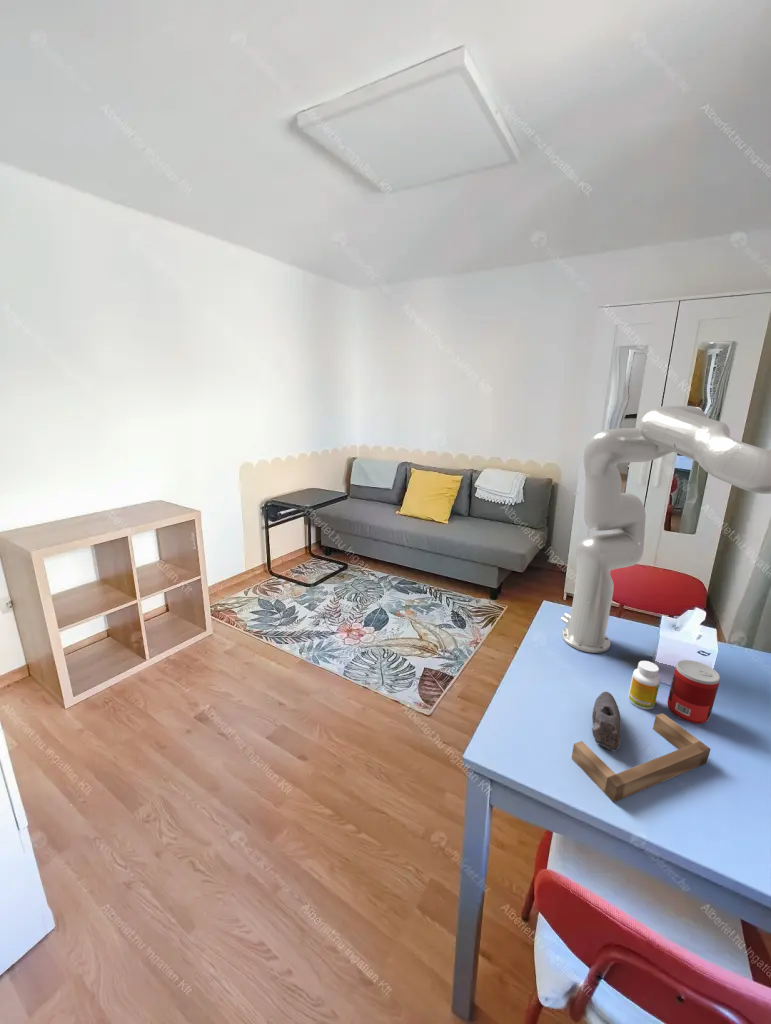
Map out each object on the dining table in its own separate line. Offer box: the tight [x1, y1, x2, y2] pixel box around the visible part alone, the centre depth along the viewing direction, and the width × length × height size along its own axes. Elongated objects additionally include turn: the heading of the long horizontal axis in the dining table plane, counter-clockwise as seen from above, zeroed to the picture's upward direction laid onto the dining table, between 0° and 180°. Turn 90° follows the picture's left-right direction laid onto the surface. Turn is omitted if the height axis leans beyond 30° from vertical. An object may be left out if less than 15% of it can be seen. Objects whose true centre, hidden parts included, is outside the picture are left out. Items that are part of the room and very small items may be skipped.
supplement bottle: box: [627, 660, 661, 710], centre depth 100 cm, size 5×5×10 cm
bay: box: [571, 712, 711, 803], centre depth 85 cm, size 10×24×4 cm, turn 111°
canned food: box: [667, 659, 721, 725], centre depth 96 cm, size 8×8×11 cm
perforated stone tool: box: [591, 691, 622, 751], centre depth 92 cm, size 15×5×7 cm, turn 154°
